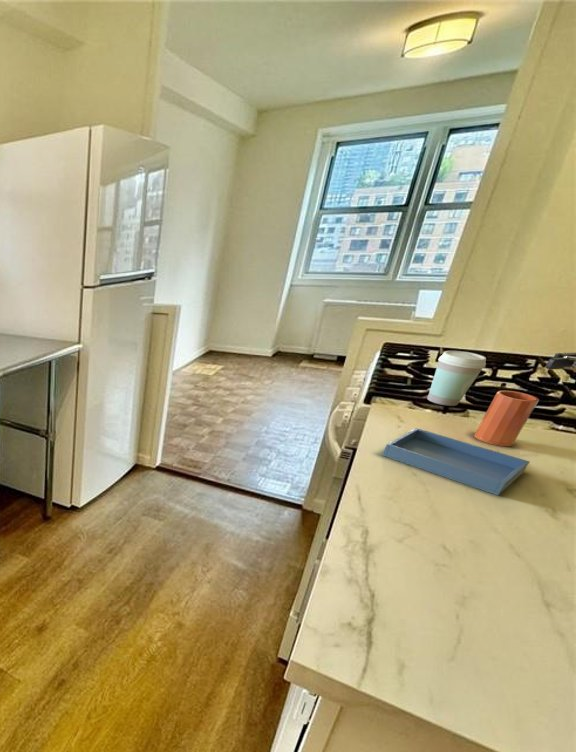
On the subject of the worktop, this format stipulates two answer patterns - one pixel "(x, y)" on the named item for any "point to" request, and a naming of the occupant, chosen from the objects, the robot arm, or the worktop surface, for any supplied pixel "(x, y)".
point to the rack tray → (456, 460)
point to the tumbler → (505, 417)
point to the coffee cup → (454, 376)
